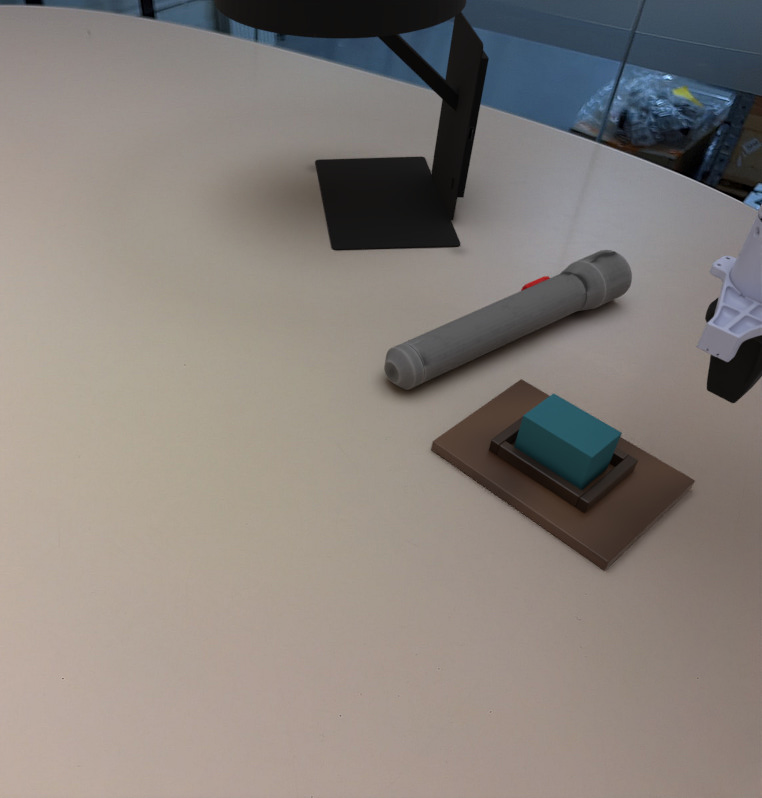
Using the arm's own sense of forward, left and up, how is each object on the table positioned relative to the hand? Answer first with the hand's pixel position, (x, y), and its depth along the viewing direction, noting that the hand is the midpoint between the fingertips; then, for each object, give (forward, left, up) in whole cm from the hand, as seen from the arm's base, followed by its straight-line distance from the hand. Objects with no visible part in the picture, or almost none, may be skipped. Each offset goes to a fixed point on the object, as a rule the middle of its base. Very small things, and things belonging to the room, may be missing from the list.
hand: (724, 392), depth 58 cm
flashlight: (+20, -5, -10) cm, 23 cm away
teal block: (+7, +6, -8) cm, 12 cm away
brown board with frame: (+7, +6, -9) cm, 13 cm away
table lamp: (+50, -12, -10) cm, 52 cm away
